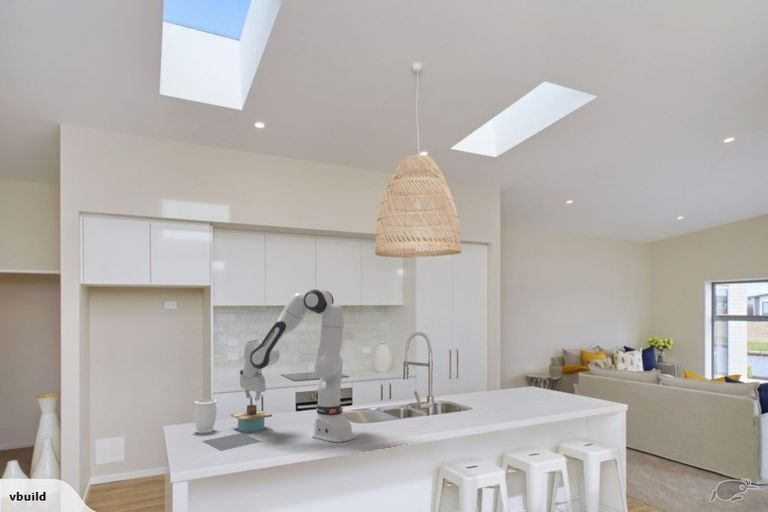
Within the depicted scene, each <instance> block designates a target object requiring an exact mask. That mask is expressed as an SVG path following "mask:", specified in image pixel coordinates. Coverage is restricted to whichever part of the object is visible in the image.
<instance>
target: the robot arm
mask: <svg viewBox="0 0 768 512" xmlns="http://www.w3.org/2000/svg"><path fill="white" fill-rule="evenodd" d="M334 300H335V299H334V296H333V294H332V293H330V292H329V291H328V290H324V289H310V290H309V291H307V292H306V293H303V292H296V293H295V294H293V296H291V298H290V299H289V300H288V301H287V304H286V305H285V306H284V308H283V309H282V312H281V313H280V315H279V317H278V318H277V320H276V321H275V323H274V324H273V326H272V327H271V329H269V332H268V333H267V334H266V336H265V337H264V339H263V340H262V341H261V340H260V339H254V340H250V341H247V342H246V343H245V344H244V348H243V349H244V351H243V360H244V365H243V368H242V369H240V370H239V375H240V377H239V385H240V388H241V389H243V390H244V392H245V393H244V394H245V396H246V397H245V398H246V399H251V394H250V391H252V392H255V394H256V395H255V396H254V400H255V401H261V394H262V393H265V392H266V378H265V377H264V375H263V372H262V370H263V369H265V368H266V367H269V366H272V365H274V364H276V363H278V361H279V360H280V351H279V350H278V348H277V347H276V345H277V344H278V343H279V340H280V339H282V337H283V336H285V335H286V334H287V333H290V332H292V331H294V330H295V329H297V328H298V326H300V324H301V323H302V321H303V319H304V317H305V316H306V314H307V313H308V312H309V311H312V312H313V313H316V314H319V315H321V325H320V327H321V329H320V339H319V344H318V350H317V353H316V354H317V355H316V360H315V364H314V372H315V373H316V375H317V376H318V377H319V382H318V387H317V405H316V414H317V415H316V417H315V420H314V430H313V434H312V435H311V436H312V439H316V440H321V441H325V442H326V441H327V442H330V441H331V443H343V441H344V442H347V441H351V440H354V439H356V438H357V437H358V435H357V434H356V433H354V432H352V431H353V430H352V424H351V422H350V421H349V420H348V419H347V418H346V416H345V415H344V413H343V410H344V407H342V404H341V384H342V376H343V366H344V361H343V358H342V357H341V355H340V354H341V349H342V344H343V338H344V337H343V336H344V322H345V320H344V318H345V317H344V309H343V307H342V306H341V305H339V304H336V303H334Z"/></svg>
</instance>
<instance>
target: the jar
mask: <svg viewBox="0 0 768 512" xmlns="http://www.w3.org/2000/svg"><path fill="white" fill-rule="evenodd" d="M217 402H218V401H217V399H213V398H212V399H211V398H209V399H208V398H207V399H199V400H195V401H194V405H195V408H194V423H195V428H196V431H195V433H197V434H207V433H211V432H214V430H215V429H214V426H215V425H216V424H215V423H216V418H217V414H218V413H217V405H216V404H217Z"/></svg>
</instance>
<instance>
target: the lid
mask: <svg viewBox="0 0 768 512" xmlns="http://www.w3.org/2000/svg"><path fill="white" fill-rule="evenodd" d="M230 416H231V417H233V418H235V419H237V420H238V419H240V420H243V421H249V420H255V419H260V418H264V419H265V418H270V417H273V414H271V413H268V412H265V411H263V410H259V409H257V405H256V404H250V405H249V404H248V405H246V411H244V412H243V411H242V412H238V413H232V414H230Z"/></svg>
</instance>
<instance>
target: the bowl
mask: <svg viewBox="0 0 768 512" xmlns="http://www.w3.org/2000/svg"><path fill="white" fill-rule="evenodd" d="M263 429H265V418H260V419H255V420H249V421H243V420H240V419H238V418H237V430H238V431H240V432H244V433H245V432H246V433H249V432H258V431H261V430H263Z"/></svg>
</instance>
